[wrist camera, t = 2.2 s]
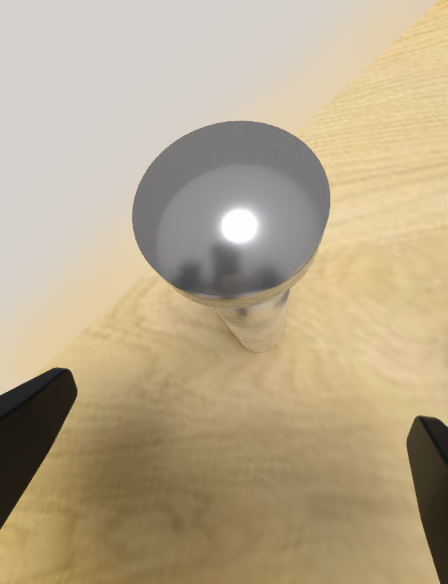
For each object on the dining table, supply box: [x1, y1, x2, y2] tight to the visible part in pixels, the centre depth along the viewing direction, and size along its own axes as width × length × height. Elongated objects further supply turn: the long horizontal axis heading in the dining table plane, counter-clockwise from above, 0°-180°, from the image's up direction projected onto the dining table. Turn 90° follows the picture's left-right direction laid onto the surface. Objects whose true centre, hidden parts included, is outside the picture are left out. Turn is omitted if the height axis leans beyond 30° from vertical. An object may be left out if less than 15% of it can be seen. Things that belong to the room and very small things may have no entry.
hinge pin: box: [132, 121, 330, 353], centre depth 13 cm, size 4×4×14 cm
